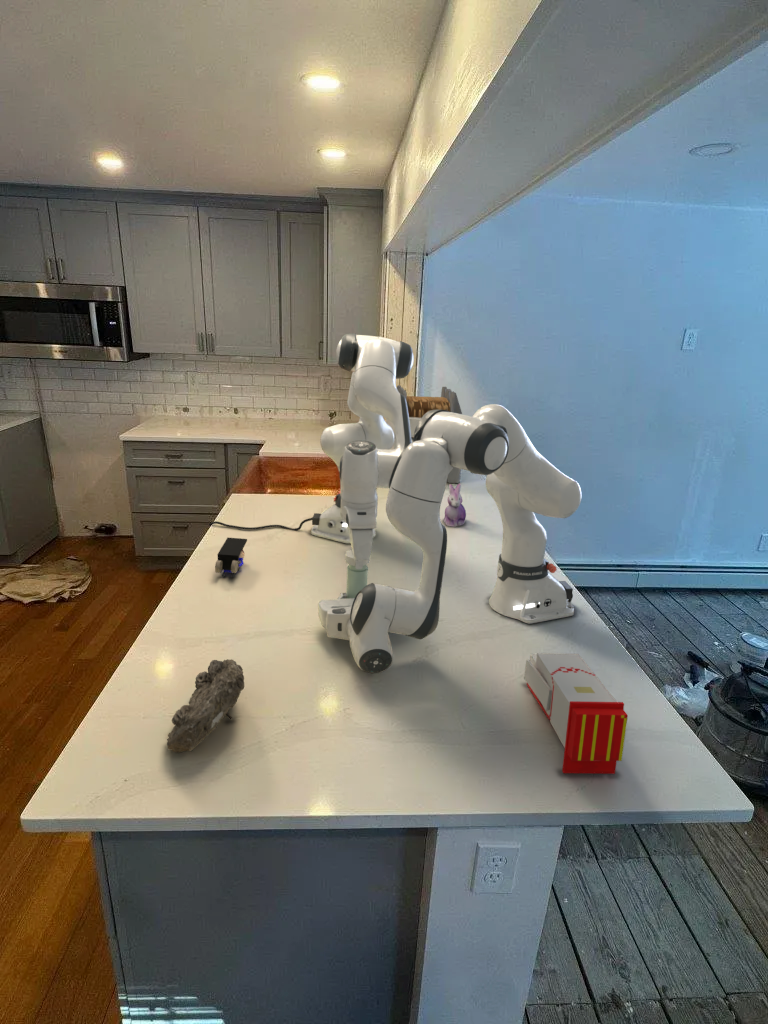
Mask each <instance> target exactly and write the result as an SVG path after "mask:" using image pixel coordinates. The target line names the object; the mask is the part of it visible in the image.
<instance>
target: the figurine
mask: <svg viewBox="0 0 768 1024" xmlns="http://www.w3.org/2000/svg"><path fill="white" fill-rule="evenodd" d="M461 487H462V485H461V483H457V485H456V486H455V487H454V486H453V485H452V483H449V485H448V491H449V494H448V496H447V503H448V505H447V506H446V507H445V509H444V518H443V524H445V525H446V526H447V527H453V528H455V527H460V526H463V525H464V524H465V522H466V519H467V512H466V509H465V506H464V505H463V504H462V503H463V497H462V495H461Z"/></svg>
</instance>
